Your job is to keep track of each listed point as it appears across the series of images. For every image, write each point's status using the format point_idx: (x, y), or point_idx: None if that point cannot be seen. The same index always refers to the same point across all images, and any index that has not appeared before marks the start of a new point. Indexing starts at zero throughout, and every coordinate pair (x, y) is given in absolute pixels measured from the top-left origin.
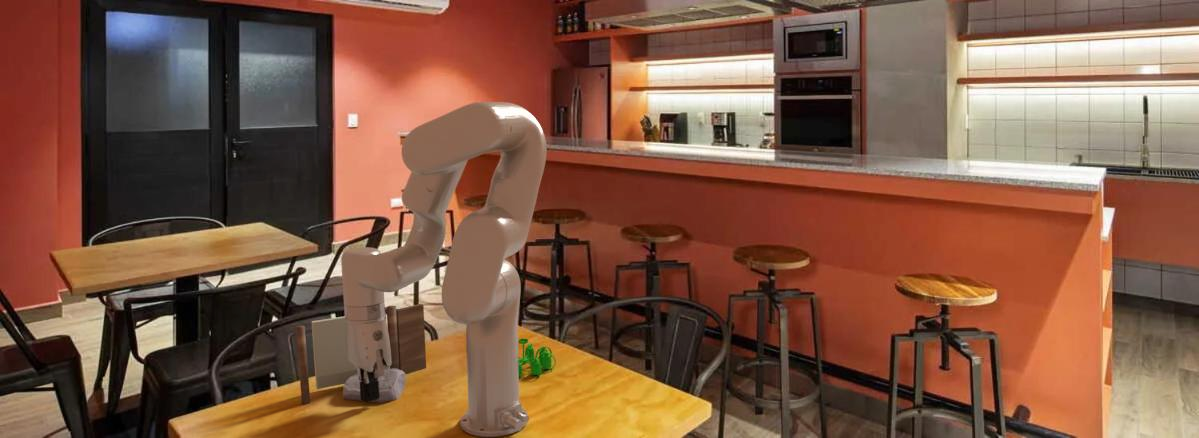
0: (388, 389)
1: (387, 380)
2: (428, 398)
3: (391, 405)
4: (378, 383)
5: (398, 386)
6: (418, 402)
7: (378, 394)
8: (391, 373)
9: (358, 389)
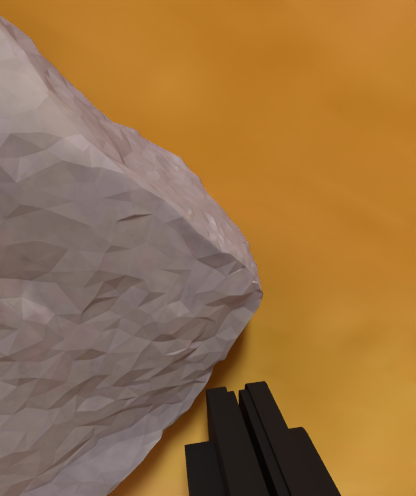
0: (239, 309)
1: (115, 283)
2: (389, 28)
3: (300, 290)
4: (307, 470)
5: (164, 177)
6: (392, 127)
7: (270, 400)
8: (2, 202)
9: (58, 486)
